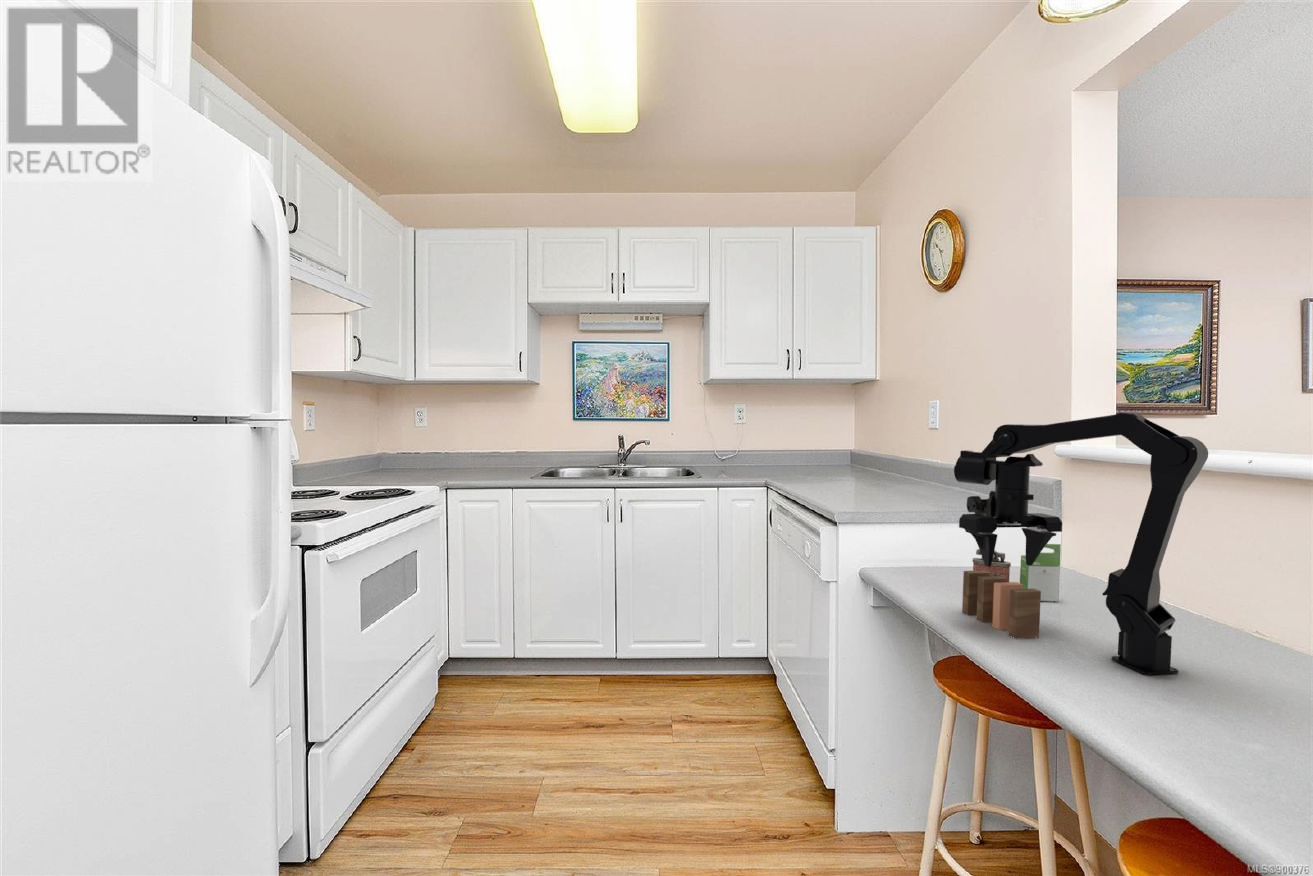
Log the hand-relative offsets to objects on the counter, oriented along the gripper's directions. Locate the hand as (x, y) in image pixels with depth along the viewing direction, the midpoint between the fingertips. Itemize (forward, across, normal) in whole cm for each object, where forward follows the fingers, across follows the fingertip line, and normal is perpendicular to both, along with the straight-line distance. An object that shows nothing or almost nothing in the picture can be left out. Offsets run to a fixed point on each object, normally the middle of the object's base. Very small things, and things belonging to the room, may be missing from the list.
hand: (1008, 565), depth 118 cm
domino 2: (+13, 0, -4) cm, 13 cm away
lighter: (+13, -15, -23) cm, 31 cm away
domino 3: (+12, 0, 0) cm, 13 cm away
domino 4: (+12, 0, +5) cm, 13 cm away
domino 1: (+13, 0, -9) cm, 15 cm away
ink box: (+13, -22, -16) cm, 30 cm away
